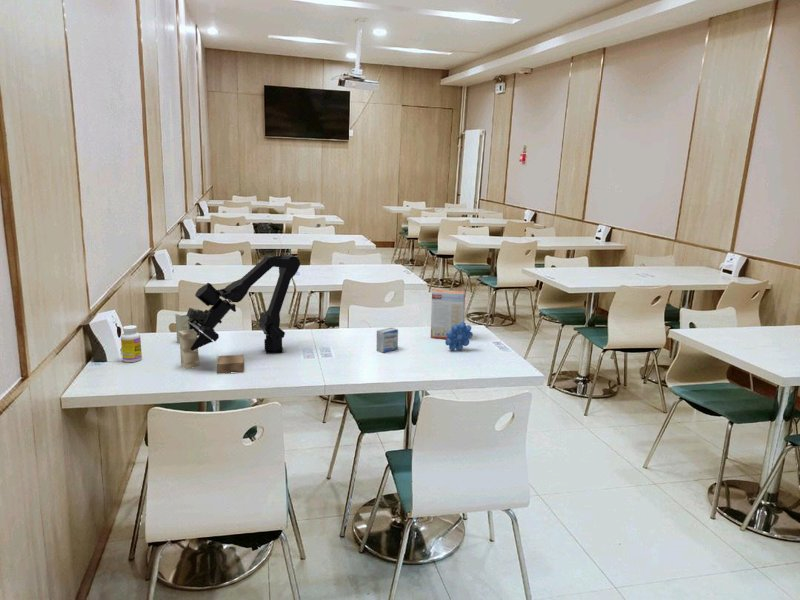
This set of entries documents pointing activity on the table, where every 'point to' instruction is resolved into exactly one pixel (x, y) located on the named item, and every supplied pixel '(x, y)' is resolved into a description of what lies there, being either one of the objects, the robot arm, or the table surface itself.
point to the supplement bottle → (131, 344)
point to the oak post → (188, 349)
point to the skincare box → (181, 323)
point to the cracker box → (446, 311)
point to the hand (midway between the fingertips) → (187, 346)
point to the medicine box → (387, 340)
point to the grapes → (459, 336)
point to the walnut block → (230, 363)
